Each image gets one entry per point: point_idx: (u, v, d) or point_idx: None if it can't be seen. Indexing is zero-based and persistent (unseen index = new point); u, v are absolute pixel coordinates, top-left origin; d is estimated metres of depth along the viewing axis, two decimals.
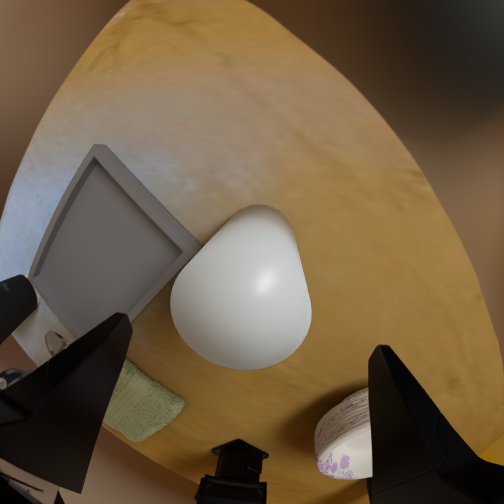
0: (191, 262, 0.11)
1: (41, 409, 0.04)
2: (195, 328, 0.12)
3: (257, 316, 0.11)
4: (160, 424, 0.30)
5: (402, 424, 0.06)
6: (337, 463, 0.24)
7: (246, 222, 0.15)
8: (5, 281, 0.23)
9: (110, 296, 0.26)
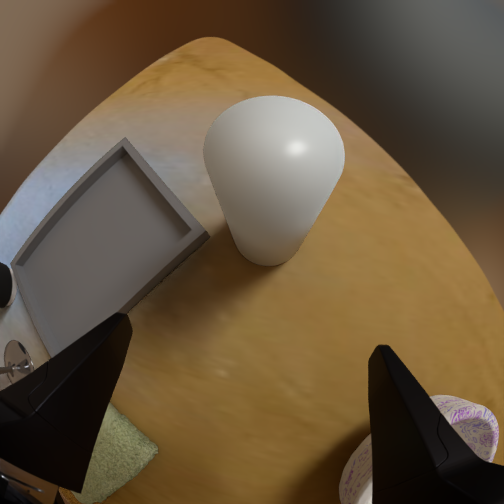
0: (235, 105, 0.11)
1: (41, 409, 0.04)
2: (226, 159, 0.11)
3: (293, 145, 0.11)
4: (121, 477, 0.17)
5: (402, 424, 0.06)
6: None
7: None
8: None
9: (95, 291, 0.22)
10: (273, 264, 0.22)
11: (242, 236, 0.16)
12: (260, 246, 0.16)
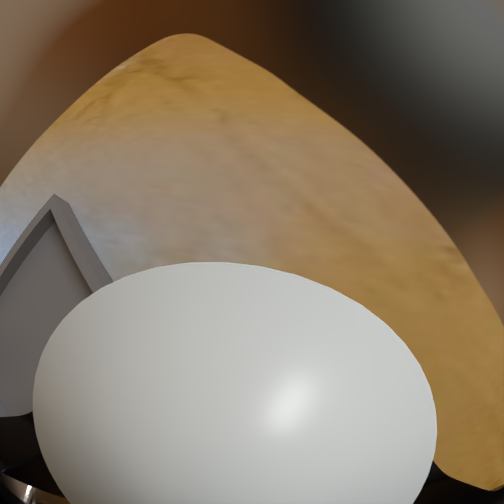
0: (78, 309, 0.03)
1: None
2: (93, 495, 0.02)
3: (278, 498, 0.02)
4: None
5: None
6: None
7: None
8: None
9: None
10: None
11: None
12: None
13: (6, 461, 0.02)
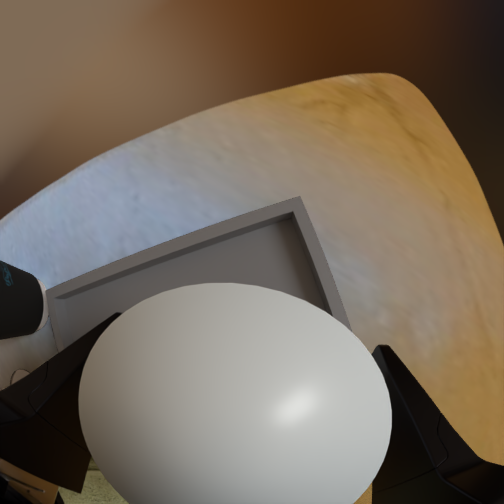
0: (124, 316, 0.04)
1: (41, 409, 0.04)
2: (126, 463, 0.04)
3: (270, 454, 0.04)
4: None
5: (402, 424, 0.06)
6: None
7: None
8: (10, 268, 0.14)
9: None
10: None
11: None
12: None
13: None
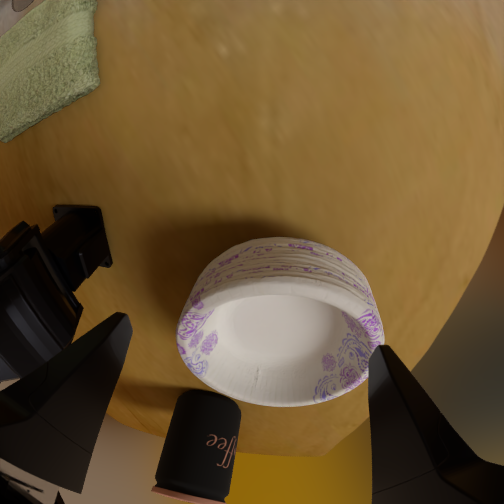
0: None
1: (41, 409, 0.04)
2: None
3: None
4: (39, 106, 0.14)
5: (402, 424, 0.06)
6: (202, 337, 0.20)
7: None
8: None
9: None
10: None
11: None
12: None
13: None
